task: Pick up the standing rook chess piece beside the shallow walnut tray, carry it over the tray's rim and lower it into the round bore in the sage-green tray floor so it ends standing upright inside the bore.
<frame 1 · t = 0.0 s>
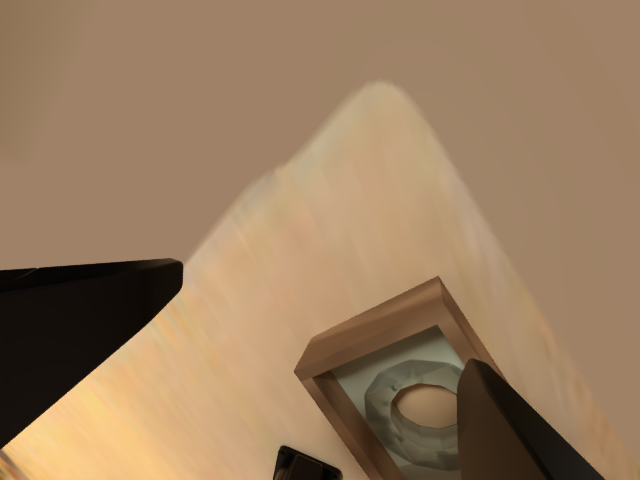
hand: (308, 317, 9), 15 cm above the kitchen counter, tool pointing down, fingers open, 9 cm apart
bore tray: (429, 398, 25), on the kitchen counter
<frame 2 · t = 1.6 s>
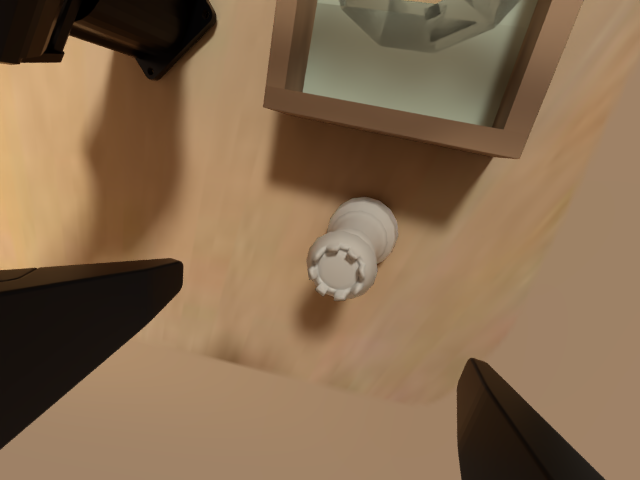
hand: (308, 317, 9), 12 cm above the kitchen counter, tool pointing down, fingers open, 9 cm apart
rook chess piece: (364, 228, 21), on the kitchen counter
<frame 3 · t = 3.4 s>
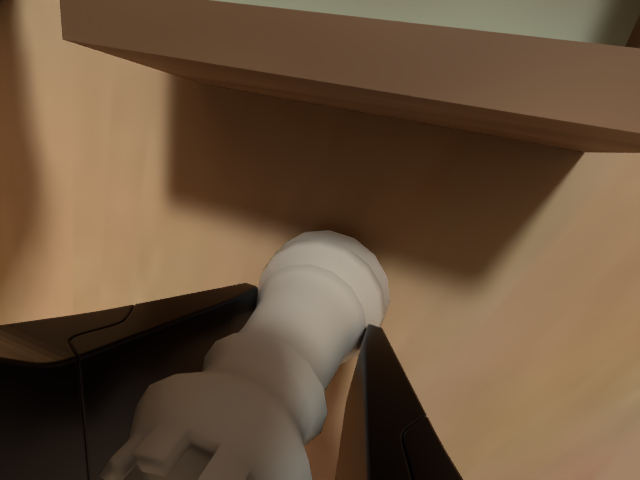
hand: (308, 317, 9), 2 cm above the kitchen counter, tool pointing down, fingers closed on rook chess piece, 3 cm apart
rook chess piece: (330, 282, 12), on the kitchen counter, touching gripper
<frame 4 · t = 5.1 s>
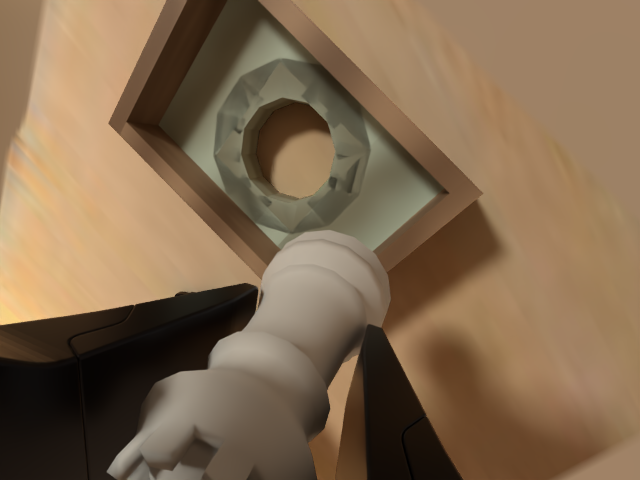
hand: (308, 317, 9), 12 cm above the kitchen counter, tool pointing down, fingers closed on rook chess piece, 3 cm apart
bore tray: (297, 152, 21), on the kitchen counter
rook chess piece: (332, 282, 12), point 10 cm above the kitchen counter, touching gripper
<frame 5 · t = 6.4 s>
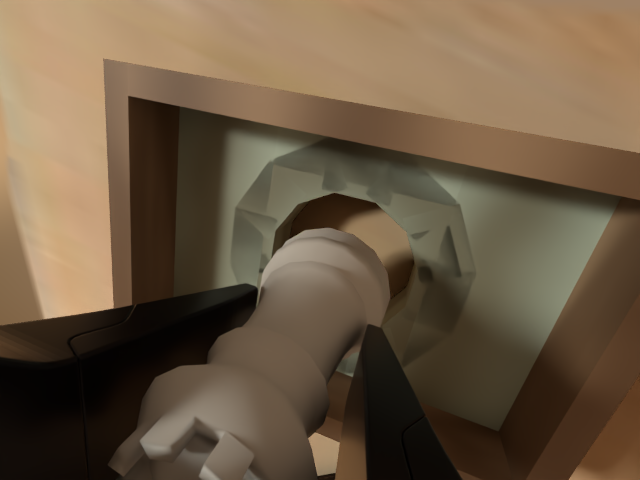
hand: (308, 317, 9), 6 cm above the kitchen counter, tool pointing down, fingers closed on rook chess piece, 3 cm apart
bore tray: (348, 252, 15), on the kitchen counter
rook chess piece: (331, 280, 12), point 3 cm above the kitchen counter, touching gripper
when the fingers open (3 cm above the kitchen counter, at t = 7.1 s): rook chess piece stays where it is, resting in bore tray.
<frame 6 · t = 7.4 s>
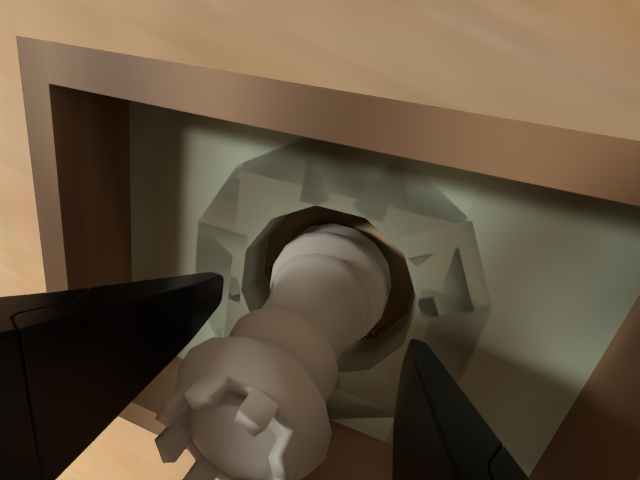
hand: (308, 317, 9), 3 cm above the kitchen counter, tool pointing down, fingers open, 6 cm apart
bore tray: (335, 274, 12), on the kitchen counter
rook chess piece: (336, 273, 12), resting in bore tray
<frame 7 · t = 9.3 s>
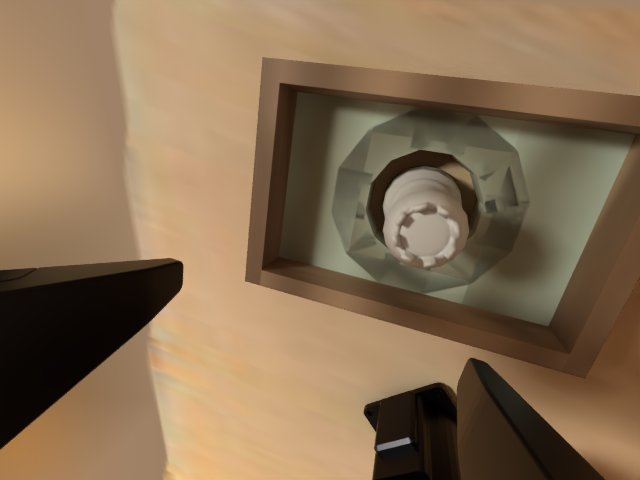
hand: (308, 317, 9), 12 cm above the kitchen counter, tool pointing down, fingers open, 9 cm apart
bore tray: (420, 202, 19), on the kitchen counter
rook chess piece: (420, 202, 19), resting in bore tray
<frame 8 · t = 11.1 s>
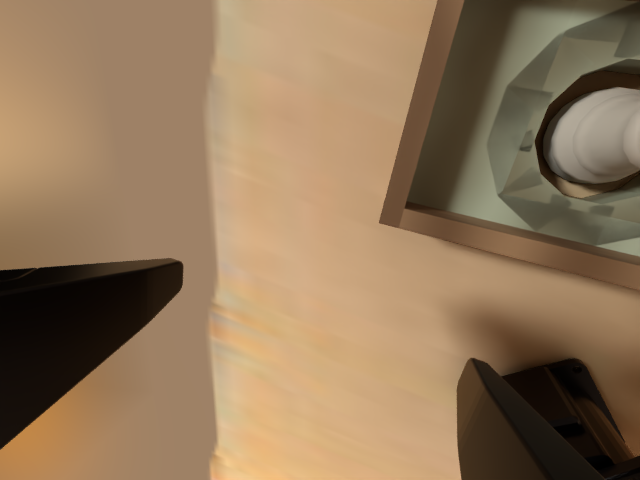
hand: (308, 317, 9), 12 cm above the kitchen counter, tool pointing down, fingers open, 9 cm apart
bore tray: (590, 137, 16), on the kitchen counter
rook chess piece: (587, 138, 16), resting in bore tray
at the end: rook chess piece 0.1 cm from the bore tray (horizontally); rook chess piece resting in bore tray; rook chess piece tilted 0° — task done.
